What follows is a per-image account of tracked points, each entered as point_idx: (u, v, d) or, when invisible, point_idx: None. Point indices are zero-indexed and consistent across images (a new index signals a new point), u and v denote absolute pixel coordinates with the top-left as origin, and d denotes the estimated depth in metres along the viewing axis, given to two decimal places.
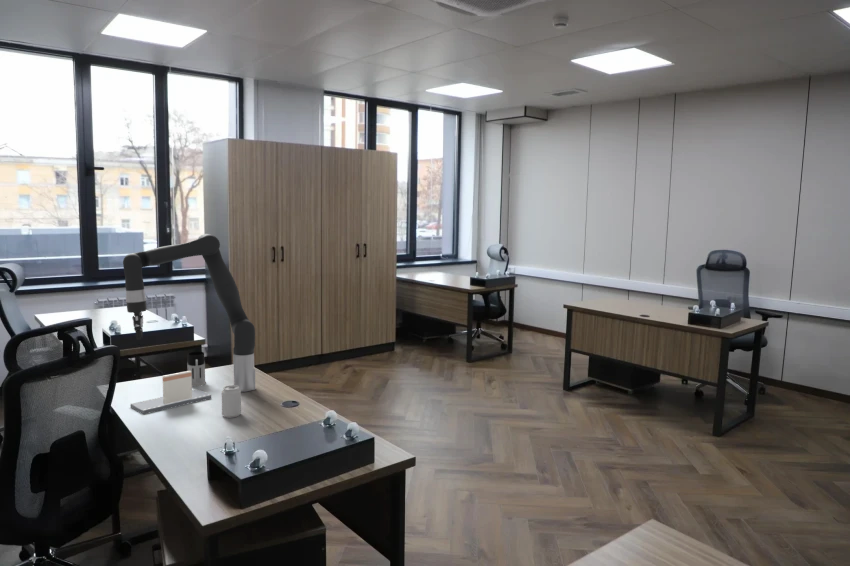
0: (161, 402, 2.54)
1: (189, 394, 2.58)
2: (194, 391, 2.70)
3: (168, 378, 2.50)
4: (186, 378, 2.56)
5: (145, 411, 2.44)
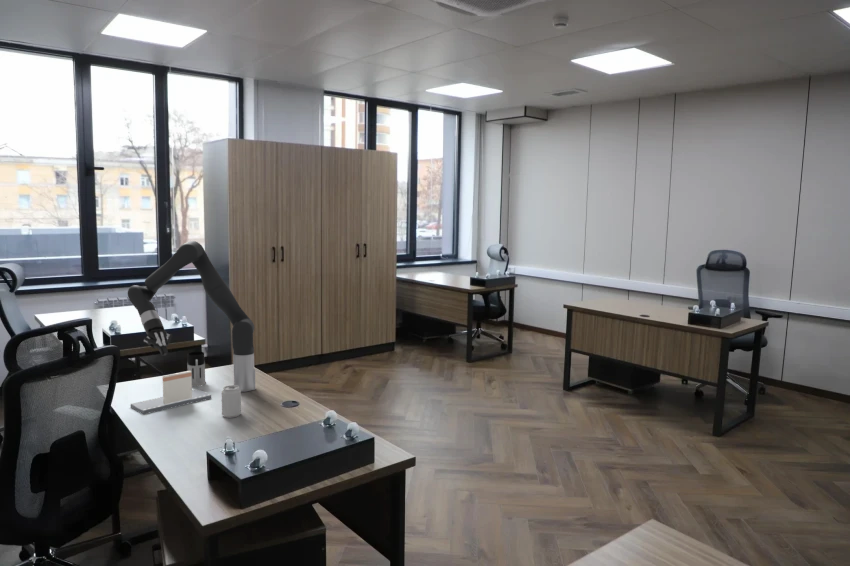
0: (161, 402, 2.54)
1: (189, 394, 2.58)
2: (194, 391, 2.70)
3: (168, 378, 2.50)
4: (186, 378, 2.56)
5: (145, 411, 2.44)
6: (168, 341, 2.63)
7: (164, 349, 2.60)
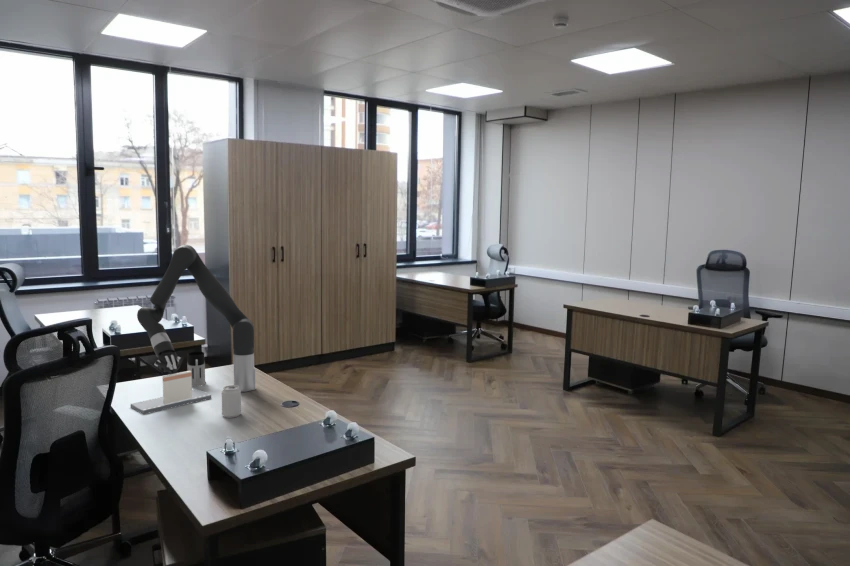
0: (161, 402, 2.54)
1: (189, 394, 2.58)
2: (194, 391, 2.70)
3: (168, 378, 2.50)
4: (186, 378, 2.56)
5: (145, 411, 2.44)
6: (179, 364, 2.58)
7: None
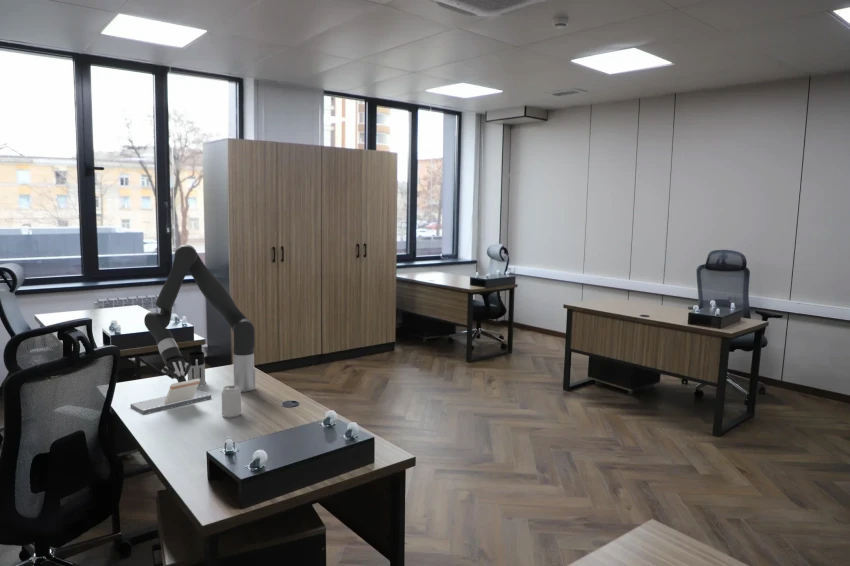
0: (161, 402, 2.54)
1: (191, 396, 2.57)
2: None
3: (175, 387, 2.46)
4: (193, 385, 2.52)
5: (145, 411, 2.44)
6: (187, 371, 2.54)
7: (183, 379, 2.50)
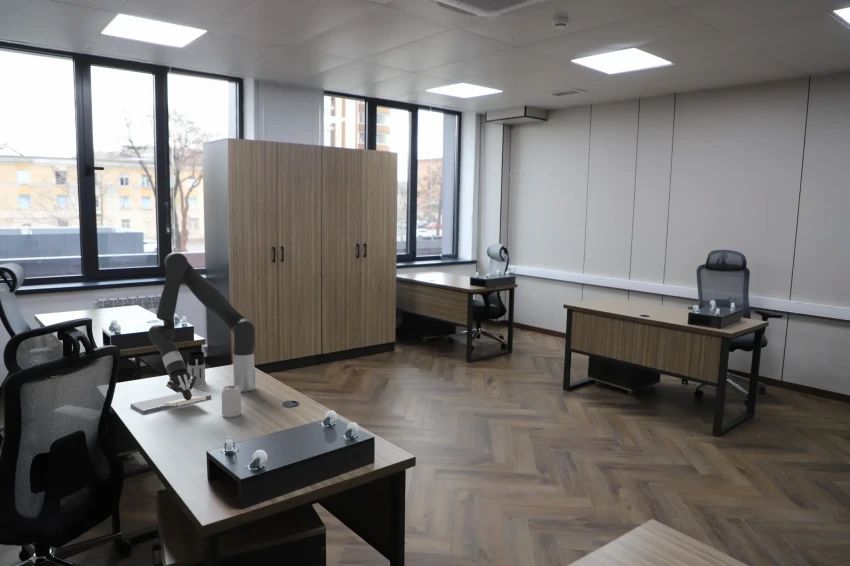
0: (161, 402, 2.54)
1: None
2: (194, 391, 2.70)
3: (181, 404, 2.44)
4: None
5: (145, 411, 2.44)
6: (192, 384, 2.51)
7: (188, 393, 2.48)
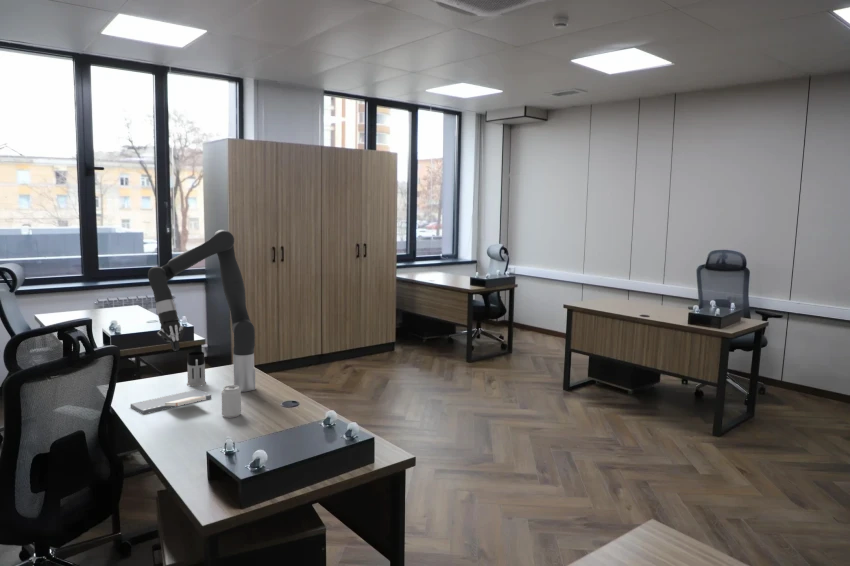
0: (161, 402, 2.54)
1: None
2: (194, 391, 2.70)
3: (181, 404, 2.44)
4: None
5: (145, 411, 2.44)
6: (181, 336, 2.60)
7: (176, 345, 2.57)
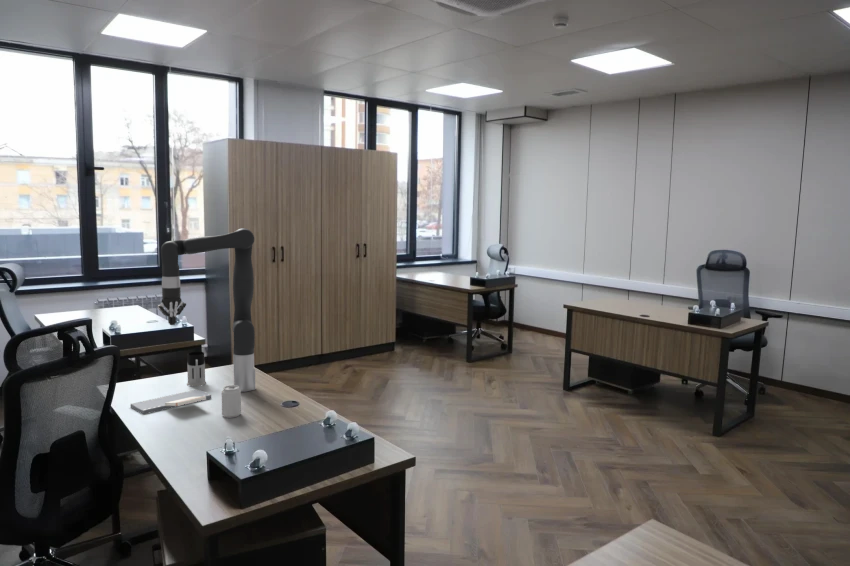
0: (161, 402, 2.54)
1: None
2: (194, 391, 2.70)
3: (181, 404, 2.44)
4: None
5: (145, 411, 2.44)
6: (179, 312, 2.67)
7: (173, 321, 2.66)
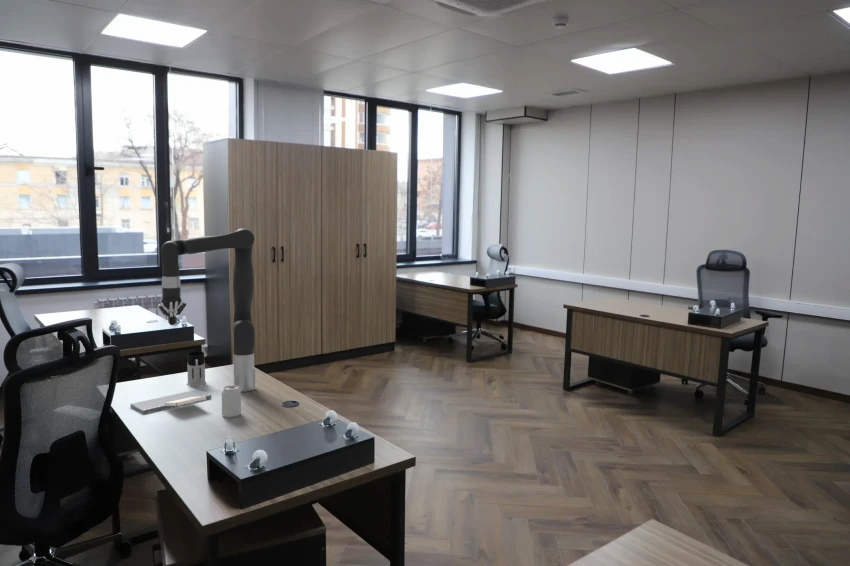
0: (161, 402, 2.54)
1: None
2: (194, 391, 2.70)
3: (181, 404, 2.44)
4: None
5: (145, 411, 2.44)
6: (179, 312, 2.67)
7: (173, 320, 2.66)
